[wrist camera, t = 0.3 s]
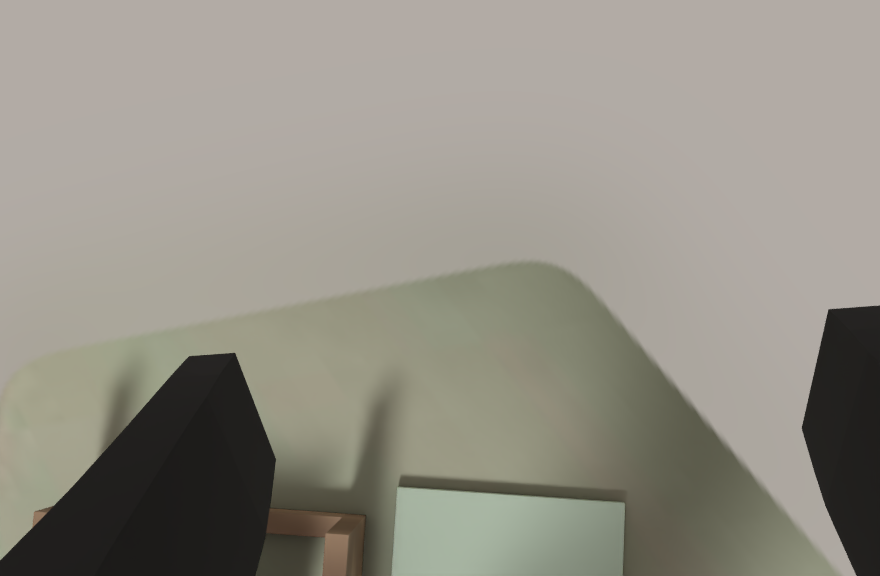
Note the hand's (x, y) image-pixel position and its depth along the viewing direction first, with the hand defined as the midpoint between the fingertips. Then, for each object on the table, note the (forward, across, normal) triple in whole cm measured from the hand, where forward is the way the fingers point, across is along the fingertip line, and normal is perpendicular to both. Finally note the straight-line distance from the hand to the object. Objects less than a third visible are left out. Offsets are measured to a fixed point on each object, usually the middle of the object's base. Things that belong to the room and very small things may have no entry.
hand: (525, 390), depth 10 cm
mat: (+14, +2, +28) cm, 31 cm away
